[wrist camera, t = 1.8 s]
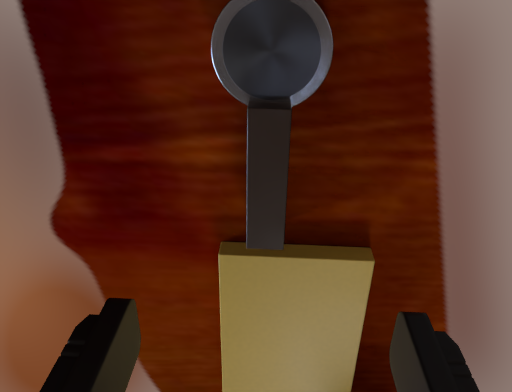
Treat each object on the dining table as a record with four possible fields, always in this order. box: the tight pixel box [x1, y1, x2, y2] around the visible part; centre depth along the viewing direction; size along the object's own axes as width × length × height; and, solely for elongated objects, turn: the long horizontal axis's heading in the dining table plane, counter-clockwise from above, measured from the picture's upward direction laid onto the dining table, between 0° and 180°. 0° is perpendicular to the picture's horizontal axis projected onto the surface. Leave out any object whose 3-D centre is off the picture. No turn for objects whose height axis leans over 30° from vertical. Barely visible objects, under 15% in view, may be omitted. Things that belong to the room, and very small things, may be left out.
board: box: [218, 242, 375, 392], centre depth 32 cm, size 16×10×2 cm, turn 179°
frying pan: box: [211, 0, 333, 250], centre depth 24 cm, size 14×6×3 cm, turn 179°
